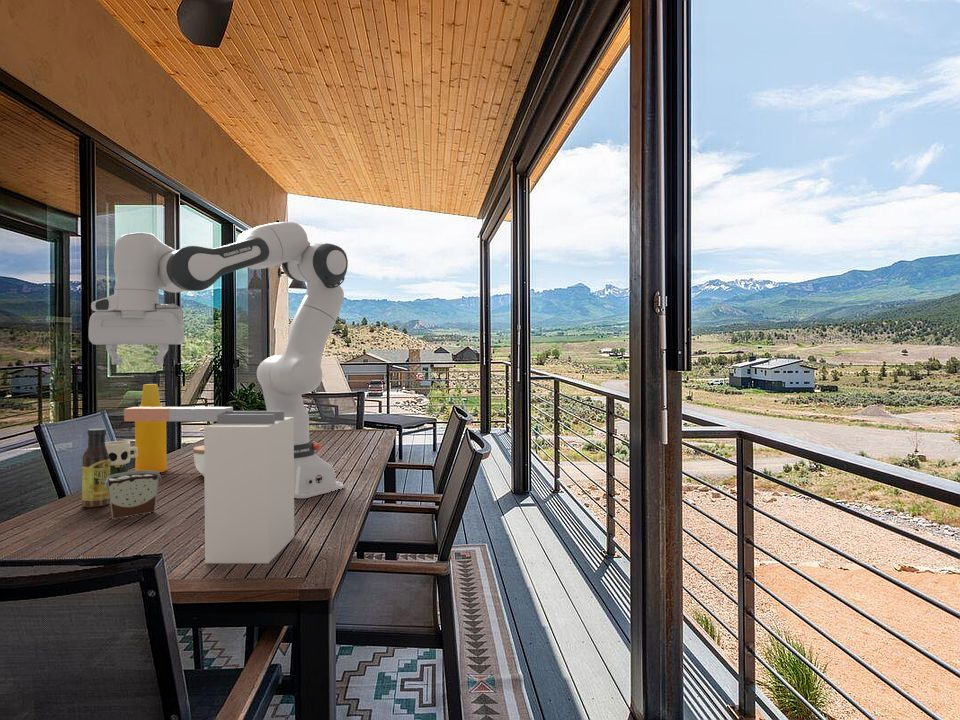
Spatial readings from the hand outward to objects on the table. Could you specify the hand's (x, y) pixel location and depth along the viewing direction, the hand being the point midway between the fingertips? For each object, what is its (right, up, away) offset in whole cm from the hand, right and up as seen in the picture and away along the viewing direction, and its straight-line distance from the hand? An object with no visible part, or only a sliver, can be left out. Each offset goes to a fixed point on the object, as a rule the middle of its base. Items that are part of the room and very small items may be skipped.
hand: (137, 364), depth 137 cm
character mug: (-30, -37, +42) cm, 63 cm away
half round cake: (-9, -37, +12) cm, 40 cm away
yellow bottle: (-31, -36, +63) cm, 79 cm away
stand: (+32, -37, -15) cm, 51 cm away
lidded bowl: (-8, -36, +58) cm, 69 cm away
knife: (+17, -11, -15) cm, 26 cm away
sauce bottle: (-22, -37, +20) cm, 47 cm away
